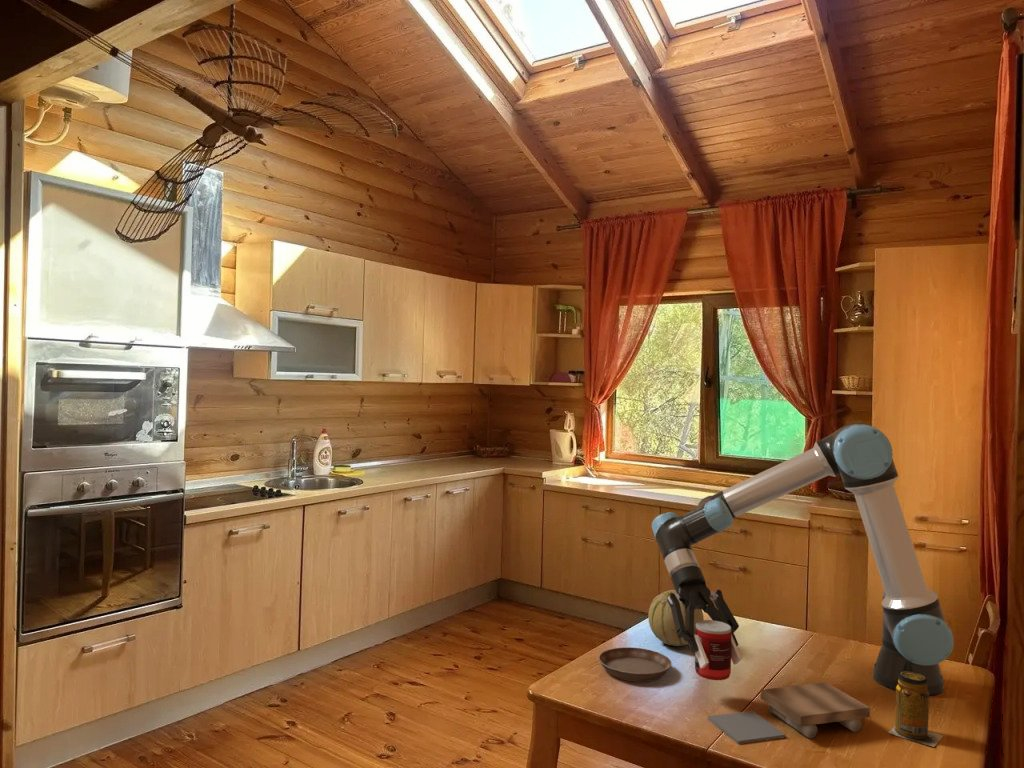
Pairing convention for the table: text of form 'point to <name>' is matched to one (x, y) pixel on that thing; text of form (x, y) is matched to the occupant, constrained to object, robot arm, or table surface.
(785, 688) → the walnut slab
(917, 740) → the condiment
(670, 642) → the cantaloupe
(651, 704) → the table surface
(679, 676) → the table surface
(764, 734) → the rubber mat
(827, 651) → the table surface
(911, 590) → the robot arm
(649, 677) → the plant saucer
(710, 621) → the canned food
